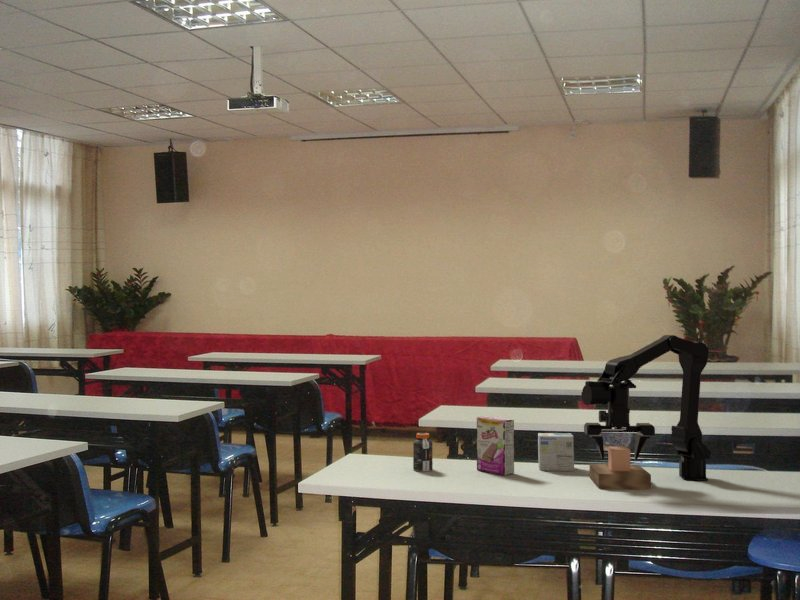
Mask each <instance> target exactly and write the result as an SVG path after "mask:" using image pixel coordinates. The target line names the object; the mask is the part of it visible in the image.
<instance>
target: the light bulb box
mask: <svg viewBox="0 0 800 600" xmlns="http://www.w3.org/2000/svg"><path fill="white" fill-rule="evenodd" d="M574 440H575V439H574V435H573V434H572V433H569V432H567V433H563V432H562V433H561V432H560V433H559V432H548V433H547V432H544V433H541V432H538V433H537V450H538V451H537V452H538V453H537V454H538V455H537V457H538V458H537V459H538V470H539V471H540V470H541V471H551V472H553V471H554V472H555V471H556V472H557V471H558V472H560V471H561V472H564V471H565V472H574V471H575V450H574V449H575V448H574V442H575V441H574Z"/></svg>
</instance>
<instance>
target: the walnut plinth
mask: <svg viewBox="0 0 800 600" xmlns="http://www.w3.org/2000/svg"><path fill="white" fill-rule="evenodd" d="M589 479H590V480H591V481H592V483H593V484H594V485H595V486H596V488H598V489H600V490H601V489H602V490H605V489H606V490H652V474H651V473H650V472H648V471H647V470H646V469H645V468H644V467H642V466H641V465H639V464H630V471H612V470H611V469H610V468H609V463H607V464H604V463H603V464H601V463H600V464H599V463H589Z"/></svg>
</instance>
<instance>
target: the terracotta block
mask: <svg viewBox="0 0 800 600" xmlns="http://www.w3.org/2000/svg"><path fill="white" fill-rule="evenodd" d="M607 447H608V452H607V453H608V456H607V457H608V461H607V462H608V463H607V464H609V468H610V469H611V470H612V471H630V465H631V449H630V448H629V447H627V446H616V445H615V446H614V445H612V446H611V445H610V446H607Z"/></svg>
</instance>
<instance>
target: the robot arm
mask: <svg viewBox="0 0 800 600" xmlns="http://www.w3.org/2000/svg"><path fill="white" fill-rule="evenodd" d="M709 349H710V348H709V347H708V346H707V345H706V344H705V343H704V342H702V341H692V340H688V339H685V338H681V337H679V336H677V335H674V334H664V335H662V336H661V337H660V338H658V339H657V340H654V341H653V342H651V343H650V344H647V345H645V346H644V347H641V348H640V349H638V350H636V351H634V352H633V353H631V354H628V355H623V356H618V357H616V358H613V359H610V360H608V361H607V362H606V363H605V366H604V370H603V371H602V373H601V374H600V376H599V377H598V379H597V380H596V381H593V380H592V381H591V380H586V381H585V383H584V386H583V387H582V391H581V393H580V394H581V400H582V402H583V404H584V405H585V406H606V405H607V404H608V406H607V410H599V411H598V422H585V424H583V425H584V426H583V433H584V434H585V435H588V436H589V437H591V438H592V439H593V440H594V441H595V444H596V446H597V449H598V452H599V455H600V458H601V460H603V461H604V460H605V451H604V450H605V449H604V438H603V435H602V434H601V433H634V438H635V443H634V452H633V453H634V460H635V461H637V460H638V458H639V456H640V453H641V451H642V449H643V446H644V445H645V443H646V441H647V440H648V439H649V440H650V439H651V436H655V435H656V427H655V426H654V425H653V424H651V423H650V422H636V424H635V425H631V423H630V413H631V409H630V389H636V388H637V385H636V384H635V383H633V382H632V380H631V378H633V377H634V376H635V375H636V374H637V373H638V371H639V370H640V368H642V367H643V366H646V365H647V364H649V363H650V362H652V361H655V360H656V359H658V358H660V357H661V356H663V355H664V354H667V353H669V352H670V353H673V354H676V355H678V362H679V365H680V367H681V370H682V383H681V384H682V385H681V398H680V399H681V400H680V411H679V413H680V415H679V420H678V422H677V424H676V425H671V428H670V429H671V435H670V437H669V438H670V440H671V443H672V446H673V447H674V449H675V451H676V453H677V455H678V456H680V460H679V461H678V471H679V472H678V476H679V477H681V478H682V479H684V480H686V481H709V478H708V477H707V460H710V458H711V455H712V451H711V450H710V449H709V448H708V447H707V446H706V445H705V444H704V440H703V431H702V429H701V427H700V424H699V410H700V409H699V407H700V393H701V380H702V378H701V377H702V373H703V371H704V369H705V368H706V366H707V364H708V360H709V356H710V355H709V354H710V350H709ZM600 423H604V424H605V425H602V424H600Z"/></svg>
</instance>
